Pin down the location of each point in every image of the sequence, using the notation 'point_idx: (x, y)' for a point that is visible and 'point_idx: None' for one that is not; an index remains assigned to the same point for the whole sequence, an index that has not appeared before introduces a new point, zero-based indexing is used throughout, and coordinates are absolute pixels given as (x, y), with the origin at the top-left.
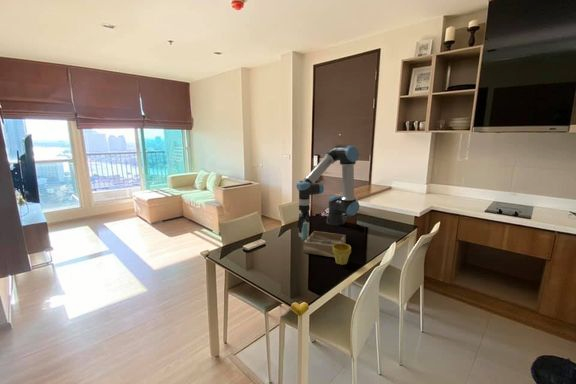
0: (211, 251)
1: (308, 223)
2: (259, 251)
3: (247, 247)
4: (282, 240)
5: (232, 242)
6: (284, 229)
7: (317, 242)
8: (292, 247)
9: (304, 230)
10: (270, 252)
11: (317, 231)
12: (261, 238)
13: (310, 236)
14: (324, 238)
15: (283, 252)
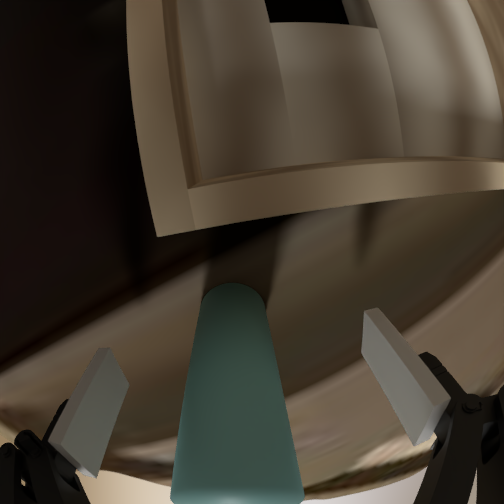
0: None
1: (70, 434)
2: (485, 379)
3: None
4: (340, 416)
5: (407, 474)
6: (152, 469)
7: (380, 72)
8: (444, 293)
9: (277, 383)
10: (497, 341)
11: (155, 149)
12: (345, 471)
13: (468, 165)
14: (189, 38)
15: (500, 291)
